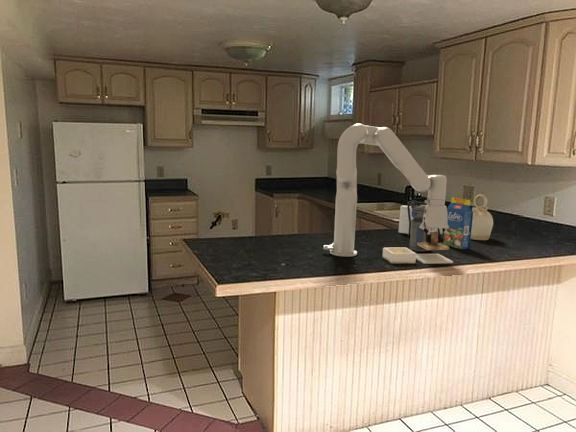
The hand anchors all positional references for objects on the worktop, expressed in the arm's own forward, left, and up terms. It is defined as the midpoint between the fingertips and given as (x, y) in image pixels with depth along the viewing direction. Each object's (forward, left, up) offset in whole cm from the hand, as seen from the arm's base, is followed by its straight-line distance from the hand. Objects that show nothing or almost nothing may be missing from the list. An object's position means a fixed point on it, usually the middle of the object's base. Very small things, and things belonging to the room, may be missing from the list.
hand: (433, 242), depth 211 cm
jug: (+50, +44, -8) cm, 67 cm away
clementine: (-16, 0, -7) cm, 18 cm away
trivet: (0, 0, -8) cm, 8 cm away
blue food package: (+26, +24, -8) cm, 36 cm away
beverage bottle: (+2, +18, -8) cm, 20 cm away
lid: (0, 0, -2) cm, 2 cm away
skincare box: (+19, +55, -8) cm, 59 cm away
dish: (-16, 0, -8) cm, 18 cm away
